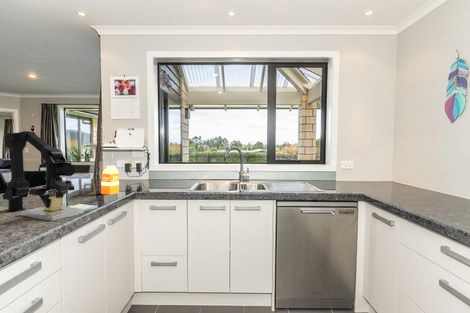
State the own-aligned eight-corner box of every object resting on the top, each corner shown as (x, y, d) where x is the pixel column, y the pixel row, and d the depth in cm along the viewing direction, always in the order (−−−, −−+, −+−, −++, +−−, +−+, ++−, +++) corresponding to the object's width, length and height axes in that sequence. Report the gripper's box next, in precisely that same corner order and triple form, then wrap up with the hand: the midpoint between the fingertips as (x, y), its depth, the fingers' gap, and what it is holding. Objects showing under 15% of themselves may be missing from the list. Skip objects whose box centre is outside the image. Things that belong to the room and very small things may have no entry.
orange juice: (118, 192, 195) (119, 165, 194) (110, 194, 187) (110, 166, 186) (110, 191, 197) (110, 165, 197) (101, 193, 189) (101, 165, 188)
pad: (63, 209, 141) (63, 207, 141) (80, 205, 150) (80, 203, 150) (79, 211, 136) (79, 209, 136) (96, 207, 146) (96, 206, 146)
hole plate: (20, 215, 127) (20, 211, 127) (54, 208, 142) (54, 204, 142) (51, 220, 119) (51, 216, 119) (83, 213, 134) (83, 209, 134)
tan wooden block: (44, 214, 129) (44, 198, 129) (54, 212, 134) (54, 196, 133) (51, 215, 127) (51, 199, 127) (61, 213, 132) (61, 197, 132)
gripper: (44, 178, 118) (44, 212, 119) (82, 174, 136) (81, 204, 136) (28, 176, 122) (28, 210, 123) (66, 173, 140) (66, 202, 140)
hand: (53, 206), depth 130 cm, fingers closed on tan wooden block, 5 cm apart
